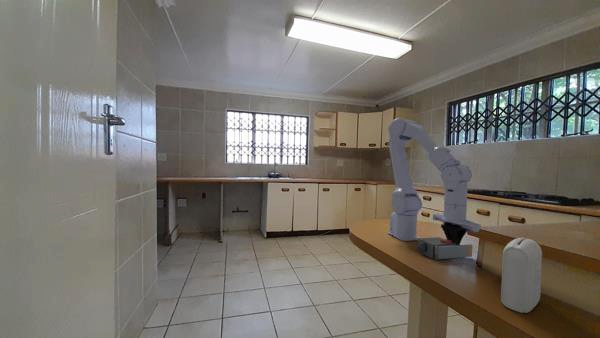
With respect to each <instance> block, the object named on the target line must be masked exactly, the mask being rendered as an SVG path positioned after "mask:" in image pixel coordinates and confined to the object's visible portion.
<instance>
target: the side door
mask: <svg viewBox="0 0 600 338" xmlns="http://www.w3.org/2000/svg"><path fill="white" fill-rule="evenodd" d="M472 257H473V244H460V245H451V246H437V245H436V246H435V259H434V260H436V261H439V260H444V259H445V260H447V259H457V258H459V259H460V258H472Z"/></svg>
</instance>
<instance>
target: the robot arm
mask: <svg viewBox="0 0 600 338" xmlns="http://www.w3.org/2000/svg"><path fill="white" fill-rule="evenodd" d="M388 135H389V140H388V148H389V149H388V151H389V155H390V161H391V167H392V171H393V177H394V183H395V184H394V185H395V190H394V191H393V192H391V207H392V210H393V212H391V215H390V218H389V232H388V231H387V234H388V233H389V234H388V235H390V234H391V236H392V235H393V237H395V238H396V239H398V240H400V241H403V242H406V241H407V242H408V241H418V238H420V237H419V236H417V233H418V232H417V229H418V228H417V227H418V214H419V211H420V210H421V209H422V208H423V202H422V199H421V197H420V196H419V193H418V191H417V190H416V189H415V188H414V187H413V185H412V179H411V173H410V168H409V164H408V158H407V153H406V149H405V148H406V147H405V146H407V144H409V142H411V141H412V140H413V139H414V140H415V141H416V142H417V143H418V144H419V145H420V146H421V147H422V148H423V149H424V150H425V151H426V152H427V153H428V155H427V157H428V160H429V161H430V162H431V163H432V164H433V165H434V167H435V168H436V169H437V170H438V171H439V173H440V178H441V180H442V181H443V185H444V186H443V187H444V197H443V199H444V200H443V214H440V213H432V220H433V221H439V222H441V224H440V228H441V230H442V231H443V233H444V235H445V238H446V239H448V240H451V241H452V242H453V243H456V245H461V242H462V240H463V237H464V236H465V235H466V234H467V232H468V231H469V230H470V231H472V232H473V233H474V232H475V233H478V232H479V230H480V229H482V224H480V223H476V222H473V221H470V220H468V219H467V209H468V208H467V206H468V205H467V204H468V183H469V182H470V181H471V179H472V177H473V173H472V171H471V169H470V167H469V166H468V165H465V164H461V160H459V159H457V158H455V156H454V155H453V154H451V149H449V148H447V147H445V146H438V145H437V143H436V142H435V141H434V140H433V139H432V137H431V136H430V134H428V133H427V132H426V130H425V129H424V126H423V125H421V124H420V123H419V122H418V121H417V120H410V119H405V118H402V117H397V118H394V119H393V120H392V122H391V123H390V125H389V126H388ZM442 223H443V224H442ZM469 227H471V228H470V229H468V228H469ZM479 233H480V232H479Z"/></svg>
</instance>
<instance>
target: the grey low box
mask: <svg viewBox="0 0 600 338" xmlns="http://www.w3.org/2000/svg"><path fill="white" fill-rule="evenodd" d="M416 245H417V246H416V247H417V249H416V251H417V252H418V253H420V254H422V255H424V256H425V257H427V258H430V259H432V260H435V246H436V245H437V246H451V245H456V243H453V242H452V241H451V240H448V239H447V238H446V239H444V238H442V237H439V236H438V237H437V236H436V237H419V238H418V240H417V244H416Z"/></svg>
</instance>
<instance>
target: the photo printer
mask: <svg viewBox="0 0 600 338" xmlns="http://www.w3.org/2000/svg"><path fill="white" fill-rule="evenodd" d="M542 261H543V251H542V248H541V246H540V244H538V242H536V241H535V240H533V239H531V238H525V237H518V238H514V239H513V240H511V241H509V242H508V243H507V244H506V246H505V247H504V249H503V251H502V269H501V289H500V294H501V295H500V299H501V300H500V302H501V304H503V305H504V307H506V308H508V309H510V310H512V311H514V312H517V313H521V314H523V313H526V314H527V313H530V312H531V311H532V310H533V309H534V308H535V307H536V306H537V305H538V303H539V302H540V300H541V289H542V287H541V285H542V284H541V283H542Z"/></svg>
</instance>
